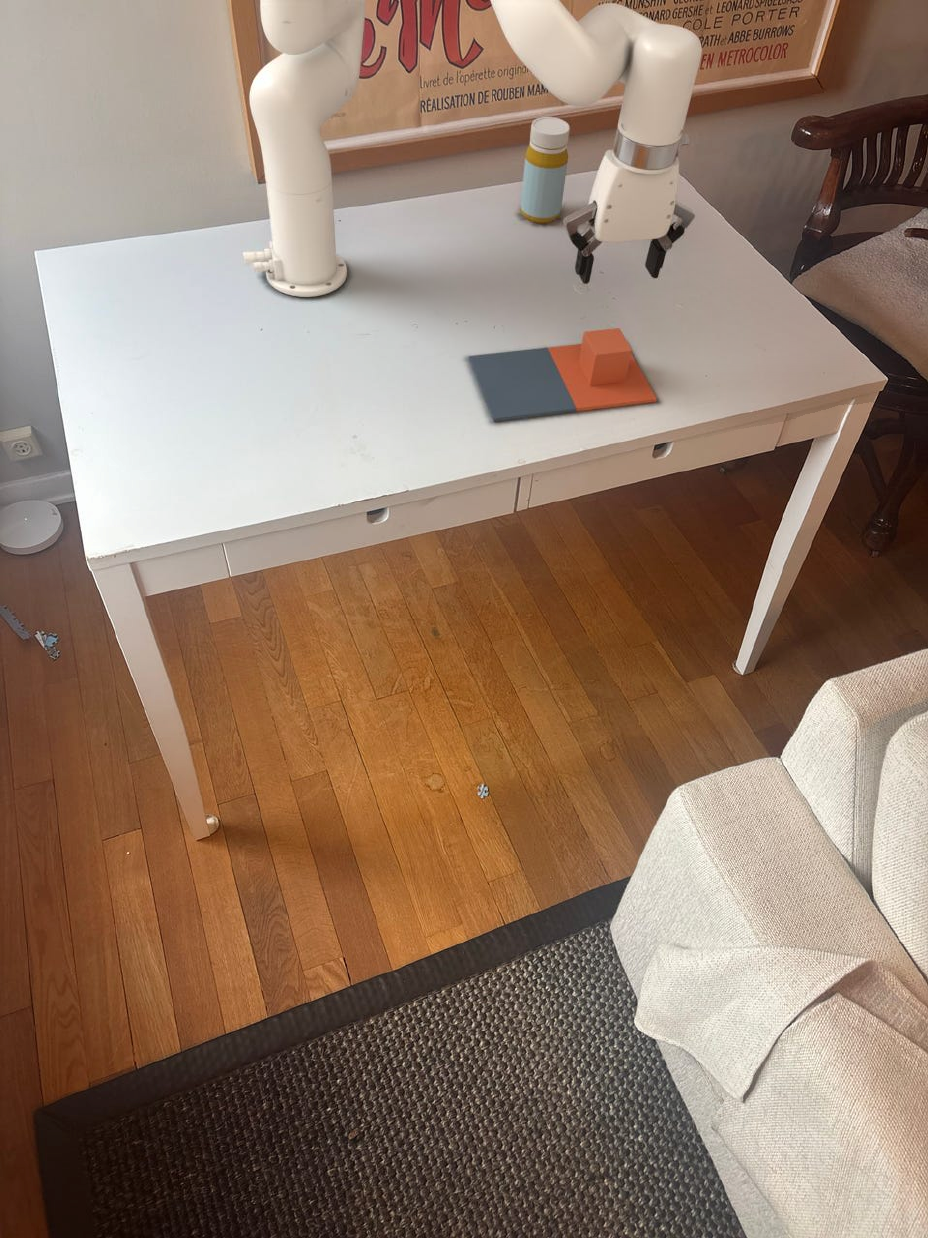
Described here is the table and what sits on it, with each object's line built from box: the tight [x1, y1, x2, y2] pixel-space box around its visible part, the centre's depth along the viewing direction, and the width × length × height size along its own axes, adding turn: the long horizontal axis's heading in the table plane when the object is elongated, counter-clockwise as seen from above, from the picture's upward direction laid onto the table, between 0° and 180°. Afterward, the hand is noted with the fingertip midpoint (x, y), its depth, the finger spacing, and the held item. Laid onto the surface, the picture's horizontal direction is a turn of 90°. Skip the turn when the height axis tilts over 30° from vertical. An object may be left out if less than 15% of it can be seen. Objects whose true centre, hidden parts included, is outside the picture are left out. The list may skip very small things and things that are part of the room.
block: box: [578, 327, 633, 386], centre depth 137 cm, size 5×5×5 cm
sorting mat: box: [468, 343, 658, 423], centre depth 138 cm, size 24×14×1 cm, turn 104°
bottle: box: [519, 116, 571, 224], centre depth 160 cm, size 7×7×15 cm
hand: (617, 274), depth 127 cm, fingers open, 9 cm apart
